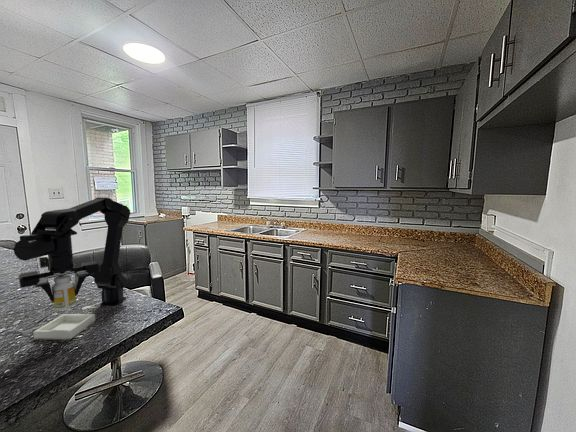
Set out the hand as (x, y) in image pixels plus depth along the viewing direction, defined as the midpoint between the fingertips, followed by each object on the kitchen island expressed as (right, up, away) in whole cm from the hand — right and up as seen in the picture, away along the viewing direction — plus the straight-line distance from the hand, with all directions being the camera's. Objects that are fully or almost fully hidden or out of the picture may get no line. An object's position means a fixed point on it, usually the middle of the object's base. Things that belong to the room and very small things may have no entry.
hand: (64, 298), depth 81 cm
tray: (0, -11, +1) cm, 11 cm away
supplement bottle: (0, -3, 0) cm, 3 cm away
